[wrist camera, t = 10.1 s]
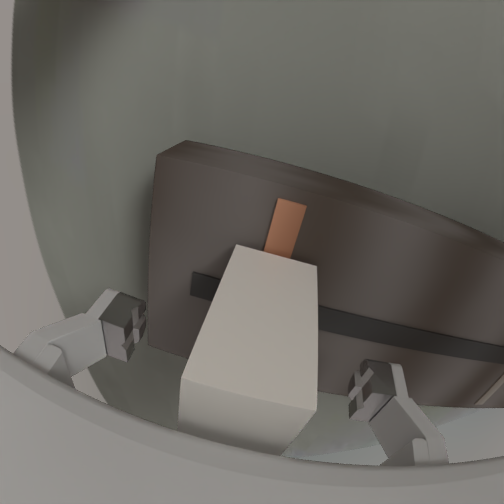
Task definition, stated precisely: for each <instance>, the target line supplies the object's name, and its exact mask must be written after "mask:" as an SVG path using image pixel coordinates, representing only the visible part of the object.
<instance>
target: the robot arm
mask: <svg viewBox="0 0 504 504" xmlns="http://www.w3.org/2000/svg"><path fill="white" fill-rule="evenodd" d="M145 310H146V302H145V301H144V300H141V299H138V298H135V297H133V296H130V295H127V294H125V293H122V292H119V291H116V290H114V289H111V288H108V289H106V290H105V291H104V292H103V293H102V294H101V296H100V297H99V298H98V299H97V300H96V302H95V303H94V304H93V305H92V307H91V308H90V309H89V310H88V311H87V313H86V314H84V313H80V314H78V315H75V316H72V317H70V318H67V319H64V320H62V321H59V322H56V323H54V324H51V325H48V326H46V327H43V328H40V329H38V330H35V331H32V332H31V333H30V334H29V335H28V336H27V337H26V338H25V340H24V341H23V342H22V343H21V345H20V346H19V347H18V348H17V349H16V351H15V352H14V353H11V352H9V351H8V350H6V349H5V348H3V347H2V346H1V345H0V504H504V456H501V457H496V458H490V459H484V460H477V461H470V462H460V463H450V464H449V461H448V455H447V449H446V445H445V439H444V437H443V436H442V434H441V433H440V432H439V431H438V429H437V428H436V427H435V426H434V425H433V423H432V422H431V421H430V420H429V418H428V417H427V416H426V415H425V414H424V412H423V411H422V410H421V409H420V408H419V406H418V405H417V404H416V403H415V402H414V400H413V399H412V398H409V397H408V392H407V387H406V383H405V378H404V374H403V369H402V366H401V365H400V364H394V363H387V362H382V361H376V360H370V359H364V360H363V361H362V362H361V364H360V370H358V371H356V372H354V374H353V375H352V377H351V379H350V381H349V384H348V396H349V397H350V399H351V400H352V401H351V402H350V404H349V419H351V420H358V421H365V422H369V425H370V427H371V428H372V430H373V432H374V434H375V435H376V437H377V439H378V441H379V442H380V444H381V446H382V448H383V449H384V451H385V453H386V455H387V457H388V458H389V459H387V460H386V461H385V462H383V463H382V464H380V465H379V466H370V465H352V464H339V463H328V462H319V461H311V460H303V459H296V458H290V457H283V456H277V455H272V454H266V453H261V452H256V451H252V450H247V449H242V448H238V447H234V446H230V445H225V444H221V443H218V442H214V441H210V440H206V439H203V438H199V437H196V436H193V435H189V434H186V433H183V432H180V431H176V430H173V429H170V428H167V427H164V426H162V425H159V424H156V423H153V422H150V421H148V420H145V419H142V418H140V417H137V416H134V415H132V414H129V413H127V412H124V411H122V410H120V409H117V408H115V407H113V406H110V405H108V404H106V403H103V402H101V401H99V400H97V399H94V398H92V397H90V396H88V395H86V394H84V393H82V392H80V391H78V390H76V389H75V387H74V384H73V382H72V379H71V377H72V376H73V375H75V374H77V373H79V372H80V371H82V370H84V369H85V368H87V367H89V366H91V365H92V364H94V363H96V362H98V361H99V360H101V359H103V358H104V357H106V356H107V355H109V356H111V357H114V358H117V359H119V360H122V361H125V362H128V360H129V359H130V357H131V355H132V353H133V352H134V350H135V348H134V343H137V342H139V341H140V339H141V338H142V336H143V333H144V330H145V326H146V317H145V316H144V314H143V313H144V311H145Z"/></svg>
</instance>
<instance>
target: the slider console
mask: <svg viewBox="0 0 504 504" xmlns="http://www.w3.org/2000/svg"><path fill="white" fill-rule="evenodd" d="M236 244H237V245H241V246H244V247H248V248H252V249H255V250H259V251H263V252H267V253H270V254H274V255H278V256H281V257H285V258H289V259H292V260H296V261H300V262H303V263H307V264H311V265H314V266H317V290H318V382H317V391H320V392H326V393H332V394H337V395H343V396H348V384H349V381H350V379H351V377H352V375H353V374H354V372H356V371H358V370H360V364H361V362H362V361H363V360H364V359H370V360H376V361H382V362H387V363H394V364H400V365H401V366H402V369H403V374H404V378H405V383H406V387H407V392H408V397H409V398H412V399H413V400H414V402H415V403H416V404H417V405H426V406H441V407H462V408H504V242H501V241H499V240H497V239H495V238H493V237H491V236H489V235H486V234H484V233H482V232H480V231H477V230H475V229H473V228H471V227H468V226H466V225H464V224H461V223H459V222H457V221H454V220H452V219H449V218H447V217H444V216H442V215H440V214H437V213H435V212H432V211H429V210H427V209H424V208H422V207H419V206H416V205H414V204H411V203H408V202H406V201H403V200H400V199H398V198H395V197H392V196H389V195H386V194H383V193H381V192H378V191H375V190H372V189H369V188H366V187H363V186H360V185H357V184H354V183H351V182H348V181H344V180H341V179H338V178H335V177H331V176H328V175H325V174H322V173H318V172H315V171H311V170H308V169H304V168H301V167H297V166H294V165H290V164H286V163H283V162H279V161H275V160H271V159H267V158H263V157H259V156H255V155H251V154H247V153H243V152H239V151H234V150H230V149H226V148H221V147H216V146H212V145H207V144H202V143H197V142H192V141H187V140H185V141H183V142H181V143H179V144H177V145H175V146H173V147H171V148H169V149H167V150H165V151H163V152H162V153H160V154H158V155H157V157H156V166H155V176H154V186H153V197H152V210H151V224H150V241H149V264H148V345H149V346H152V347H155V348H158V349H160V350H163V351H166V352H169V353H172V354H175V355H178V356H182V357H185V358H188V359H189V357H190V354H191V352H192V349H193V347H194V345H195V342H196V340H197V337H198V335H199V332H200V330H201V327H202V325H203V323H204V320H205V318H206V315H207V313H208V311H209V308H210V306H211V303H212V301H213V298H214V296H215V294H216V291H217V289H218V286H219V284H220V282H221V279H222V277H223V275H224V272H225V270H226V267H227V265H228V263H229V260H230V258H231V256H232V253H233V251H234V249H235V246H236Z"/></svg>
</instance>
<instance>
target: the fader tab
mask: <svg viewBox="0 0 504 504" xmlns="http://www.w3.org/2000/svg"><path fill="white" fill-rule="evenodd" d="M317 382H318V290H317V266H314V265H311V264H307V263H303V262H300V261H296V260H292V259H289V258H285V257H281V256H278V255H274V254H270V253H267V252H263V251H259V250H255V249H252V248H248V247H244V246H241V245H237V244H236V246H235V249H234V251H233V253H232V256H231V258H230V260H229V263H228V265H227V267H226V270H225V272H224V275H223V277H222V279H221V282H220V284H219V286H218V289H217V291H216V294H215V296H214V298H213V301H212V303H211V306H210V308H209V311H208V313H207V315H206V318H205V320H204V323H203V325H202V327H201V330H200V332H199V335H198V337H197V340H196V342H195V345H194V347H193V349H192V352H191V354H190V357H189V359H188V362H187V364H186V367H185V369H184V372H183V374H182V377H181V385H180V398H179V412H178V428H177V431H180V432H183V433H186V434H189V435H193V436H196V437H199V438H203V439H206V440H210V441H214V442H218V443H221V444H225V445H230V446H234V447H238V448H242V449H247V450H252V451H256V452H261V453H266V454H272V455H277V456H280V455H281V454H282V453H283V452H284V451H285V449H286V448H287V447H288V446H289V445H290V444H291V442H292V441H293V440H294V439H295V437H296V436H297V435H298V434H299V433H300V431H301V430H302V429H303V428H304V426H305V425H306V424H307V422H308V421H309V420H310V419H311V417H312V416H313V415H314V413H315V412H316V411H317Z"/></svg>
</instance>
